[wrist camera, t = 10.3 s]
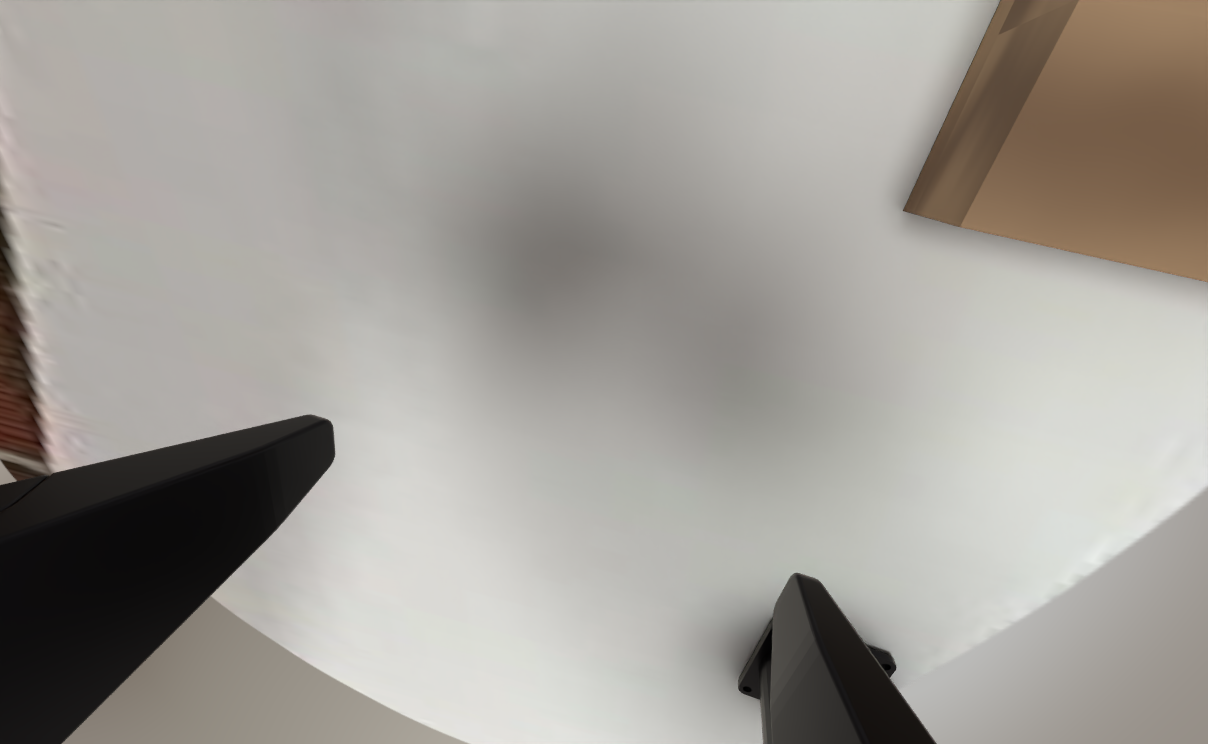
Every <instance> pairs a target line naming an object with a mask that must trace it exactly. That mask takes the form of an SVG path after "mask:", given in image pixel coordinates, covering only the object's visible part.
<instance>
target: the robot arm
mask: <svg viewBox="0 0 1208 744" xmlns="http://www.w3.org/2000/svg"><path fill="white" fill-rule="evenodd" d="M334 458H335V443H334V431H333V425H332V423H331V421H329V420H328V419H325V418H322V417H319V416H315V415H304V416H300V417H295V418H291V419H287V420H282V421H278V422H274V423H269V424H265V425H261V426H256V427H252V428H248V429H243V430H239V431H234V432H230V433H226V434H221V435H217V436H213V437H208V438H204V439H200V440H195V441H191V442H187V443H182V444H178V445H174V446H169V447H165V448H160V449H156V450H152V451H147V452H143V453H139V454H134V455H130V456H126V457H121V458H117V459H113V460H108V461H104V462H100V463H95V464H91V465H87V466H82V467H78V468H73V469H69V470H65V471H60V472H56V473H53V474H51V475H50V476H48V475H42V476H38V477H34V478H29V479H25V480H21V481H17V482H12V483H8V484H3V485H0V744H62V743H63V742H64V741H65V740H66V739H67V738H68V737H69V736H70V735H71V734H72V733H73V732H74V731H75V730H76V729H77V728H78V727H79V726H80V725H81V724H82V723H83V722H84V721H85V720H86V719H87V718H88V717H89V716H90V715H91V714H92V713H93V712H94V711H95V710H96V709H97V708H98V707H99V706H100V705H101V704H102V703H103V702H104V701H105V700H106V699H107V698H108V697H109V696H110V695H111V694H112V693H113V692H114V691H115V690H116V689H117V688H118V687H119V686H120V685H121V684H122V683H123V682H124V681H125V680H126V679H127V678H128V677H129V676H130V675H131V674H132V673H133V672H134V671H135V670H136V669H137V668H138V667H139V666H140V665H141V664H142V663H143V662H144V661H145V660H146V659H147V658H148V657H149V656H150V655H151V654H152V653H153V652H154V651H155V650H156V649H157V648H158V647H159V646H160V645H162V644H163V642H165V641H166V639H168V638H169V637H170V635H172V634H173V633H174V632H175V630H177V628H179V627H180V626H181V625H182V624H183V623H184V622H185V620H187V619H188V618H189V617H190V616H191V614H193V612H195V611H196V610H197V609H198V608H199V607H200V606H201V605H202V604H203V603H204V602H205V601H206V600H207V599H208V598H209V597H210V596H211V595H212V594H213V593H214V592H215V591H216V590H217V589H218V588H219V587H220V586H221V585H222V584H223V583H224V582H225V581H226V580H227V579H228V578H229V577H230V576H231V575H232V574H233V573H234V572H235V571H236V570H237V569H238V568H239V567H240V566H241V565H242V564H243V563H244V562H245V561H246V560H247V559H248V558H249V557H250V556H251V555H252V554H253V553H254V552H255V551H256V550H257V549H258V548H259V547H260V546H261V545H262V544H263V543H264V542H265V541H266V540H267V539H268V538H269V537H270V536H271V535H272V534H273V533H274V532H275V531H276V530H277V529H278V527H279V526H280V525H281V524H282V523H283V522H284V521H285V520H286V518H287V517H288V516H289V515H290V514H291V512H292V511H293V510H294V509H295V508H296V507H297V505H298V504H299V503H300V502H301V501H302V499H303V498H304V497H305V496H306V495H307V493H308V492H309V491H310V490H311V489H312V487H313V486H314V485H315V484H316V483H317V481H318V480H319V479H320V478H321V477H322V475H323V474H324V473H325V472H326V471H327V469H328V468H329V467H330V466H331V464H332V462H333V460H334ZM895 670H896V664H895V661H894V659H893V657H892V656H890V655H888V654H886V653H883V652H880V651H877V650H874V649H871V648H868V647H867V646H866V644H865V643H864V642H863V640H862V639H861V637H860V636H859V635H858V633H857V632H856V630H855V629H854V628H853V626H852V625H851V623H850V622H849V621H848V619H847V618H846V616H845V615H844V614H843V612H842V611H841V609H840V608H839V607H838V605H837V604H836V602H835V601H834V600H833V598H832V597H831V595H830V594H829V593H828V591H827V590H826V588H825V587H824V586H823V584H822V583H821V582H820V581H819V580H817V579H815V578H812V577H809V576H806V575H803V574H800V573H794V574H793V575H792V576H791V577H790V578H789V580H788V582H787V584H786V586H785V587H784V589H783V591H782V593H781V595H780V596H779V598H778V600H777V602H776V604H775V608H774V613H773V620H772V621H771V622H770V624H769V626H768V627H767V629H766V631H765V633H764V635H763V636H762V638H761V640H760V642H759V644H758V645H757V647H756V649H755V651H754V653H753V654H752V656H751V658H750V660H749V662H748V664H747V665H746V667H745V669H744V671H743V673H742V674H741V676H740V678H739V680H738V689H739V691H740V692H741V693H743V694H746V695H748V696H751V697H754V698H757V699H760V703H761V718H762V733H763V744H936V742H935V741H934V739H933V738H932V737H931V735H930V734H929V732H928V731H927V729H926V728H925V727H924V725H923V724H922V723H921V721H920V720H919V718H918V717H917V716H916V714H915V713H914V711H913V710H912V709H911V707H910V706H909V704H908V703H907V702H906V700H905V699H904V697H903V696H902V695H901V693H900V692H899V690H898V689H897V688H896V686H895V685H894V683H893V682H892V681H891V679H890V677H891V675H892V674H893V673H894V672H895Z"/></svg>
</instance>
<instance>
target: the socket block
mask: <svg viewBox="0 0 1208 744" xmlns="http://www.w3.org/2000/svg"><path fill="white" fill-rule="evenodd" d="M903 211H906V212H909V213H913V214H916V215H920V216H923V217H927V218H930V219H934V220H937V221H941V222H944V223H948V224H951V225H955V226H958V227H962V228H967V229H971V230H976V231H980V232H985V233H989V234H994V235H998V236H1003V237H1007V238H1012V239H1016V240H1021V241H1025V242H1030V243H1034V244H1039V245H1043V246H1048V247H1052V248H1057V249H1061V250H1066V251H1070V252H1075V253H1079V254H1084V255H1088V256H1093V257H1097V258H1102V259H1106V260H1111V261H1115V262H1120V263H1124V264H1129V265H1133V266H1138V267H1142V268H1147V269H1151V270H1156V271H1160V272H1165V273H1169V274H1174V275H1178V276H1183V277H1187V278H1192V279H1196V280H1201V281H1205V282H1208V0H1001V1H1000V3H999V6H998V8H997V10H996V12H995V14H994V16H993V18H992V21H991V23H990V25H989V27H988V29H987V31H986V34H985V36H984V38H983V40H982V42H981V44H980V46H979V49H978V51H977V53H976V55H975V57H974V59H973V61H972V64H971V66H970V68H969V70H968V72H967V74H966V77H965V79H964V81H963V83H962V85H961V87H960V89H959V92H958V94H957V96H956V98H955V100H954V102H953V105H952V107H951V109H950V111H949V113H948V115H947V117H946V120H945V122H944V124H943V126H942V128H941V130H940V132H939V135H938V137H937V139H936V141H935V143H934V145H933V148H932V150H931V152H930V154H929V156H928V158H927V160H926V163H925V165H924V167H923V169H922V171H921V173H920V175H919V178H918V180H917V182H916V184H915V186H914V188H913V191H912V193H911V195H910V197H909V199H908V201H907V203H906V206H905V208H904V210H903Z"/></svg>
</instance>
